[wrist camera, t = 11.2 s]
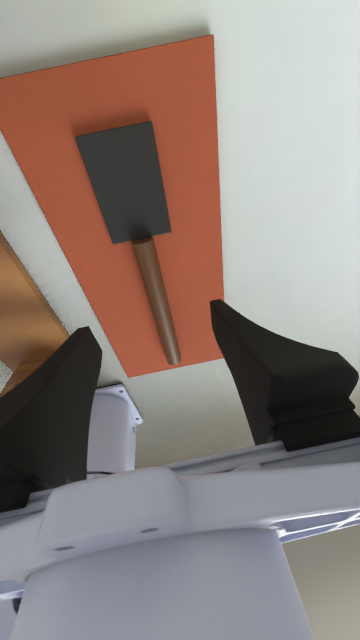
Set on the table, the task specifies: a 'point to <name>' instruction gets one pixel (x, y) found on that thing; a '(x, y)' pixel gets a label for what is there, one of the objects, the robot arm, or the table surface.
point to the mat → (177, 174)
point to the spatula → (134, 207)
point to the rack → (24, 320)
